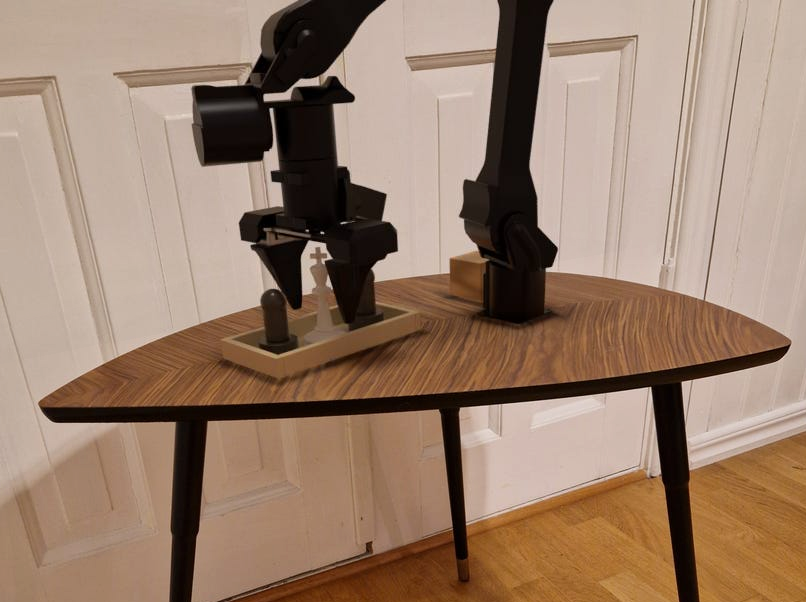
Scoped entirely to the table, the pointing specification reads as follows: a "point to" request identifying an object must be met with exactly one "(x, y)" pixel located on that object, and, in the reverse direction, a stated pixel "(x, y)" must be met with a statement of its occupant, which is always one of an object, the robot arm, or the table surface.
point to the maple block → (467, 275)
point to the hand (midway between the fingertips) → (322, 315)
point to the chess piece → (321, 303)
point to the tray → (305, 357)
